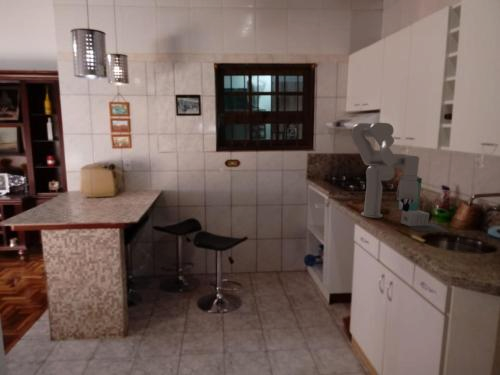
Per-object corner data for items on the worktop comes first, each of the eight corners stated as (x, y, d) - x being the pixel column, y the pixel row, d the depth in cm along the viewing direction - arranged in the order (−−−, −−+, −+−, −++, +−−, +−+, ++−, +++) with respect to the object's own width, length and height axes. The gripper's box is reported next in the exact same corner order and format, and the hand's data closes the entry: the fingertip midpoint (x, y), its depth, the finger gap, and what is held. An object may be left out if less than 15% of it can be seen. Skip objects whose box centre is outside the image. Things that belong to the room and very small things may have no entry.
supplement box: (402, 210, 206) (420, 210, 210) (400, 223, 207) (418, 222, 211) (411, 213, 199) (429, 213, 203) (409, 226, 200) (428, 226, 204)
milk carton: (417, 211, 245) (422, 174, 241) (407, 212, 242) (412, 174, 238) (407, 208, 253) (412, 173, 250) (397, 209, 250) (401, 173, 246)
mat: (402, 222, 211) (402, 221, 211) (433, 224, 211) (433, 223, 211) (415, 230, 194) (415, 230, 194) (449, 232, 193) (449, 231, 193)
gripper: (420, 178, 202) (416, 210, 205) (393, 176, 202) (389, 208, 205) (426, 179, 194) (421, 213, 197) (398, 178, 195) (394, 211, 198)
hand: (405, 210), depth 201 cm, fingers closed
